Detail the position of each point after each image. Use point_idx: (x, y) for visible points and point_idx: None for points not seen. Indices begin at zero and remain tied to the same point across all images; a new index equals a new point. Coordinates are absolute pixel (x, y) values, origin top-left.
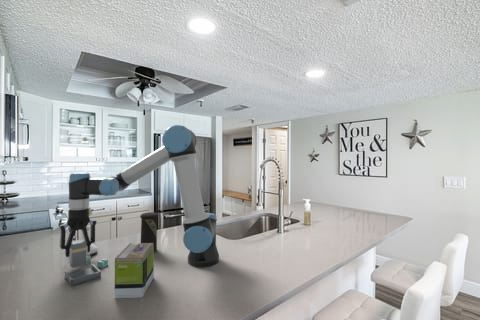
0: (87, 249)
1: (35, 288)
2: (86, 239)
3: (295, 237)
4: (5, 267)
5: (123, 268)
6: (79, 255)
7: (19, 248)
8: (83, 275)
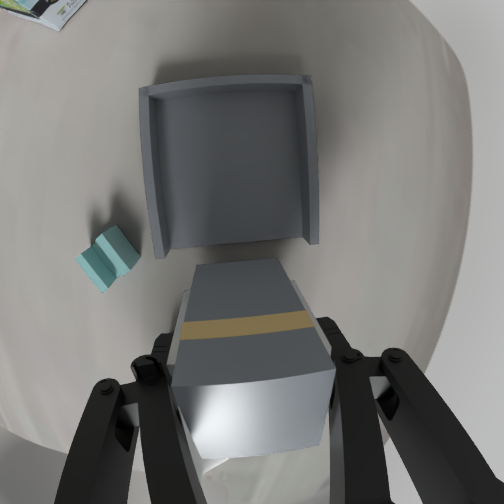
0: (172, 341)
1: (415, 185)
2: (169, 424)
3: None
4: None
5: None
6: (242, 298)
7: None
8: (226, 158)
